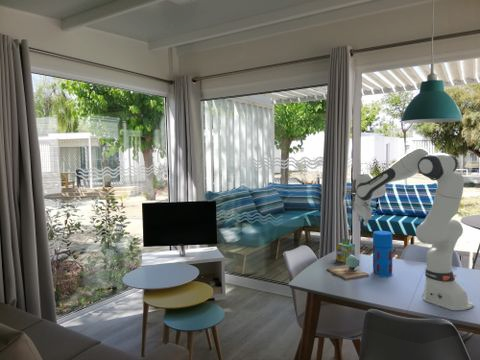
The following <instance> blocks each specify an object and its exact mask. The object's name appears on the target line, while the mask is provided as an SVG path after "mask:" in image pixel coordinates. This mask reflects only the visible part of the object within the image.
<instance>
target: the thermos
mask: <svg viewBox="0 0 480 360" xmlns="http://www.w3.org/2000/svg"><path fill="white" fill-rule="evenodd" d="M372 272H373V274H374V275H375V276H377V277H386V278H388V277H391V276H393V232H391V231H387V230H375V231H373V233H372Z"/></svg>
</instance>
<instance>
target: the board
mask: <svg viewBox="0 0 480 360" xmlns="http://www.w3.org/2000/svg"><path fill="white" fill-rule="evenodd" d="M349 267H350V266H348V265H346V264H345V265H339V266H337V265H336V266H331V267H326V271H327V272H330V273H331V274H334V275H335V276H338V277H339V278H341V279H343V280H345V281H347V280H355V279H359V278H365V277H369V276H370V274H369V273H367V272H365V271H363V270H360V269H358V268H356V269H357V271H349V270H348V269H349Z"/></svg>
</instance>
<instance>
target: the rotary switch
mask: <svg viewBox="0 0 480 360" xmlns="http://www.w3.org/2000/svg"><path fill="white" fill-rule="evenodd" d="M345 265H348V266H350V267H355V268H357V267H360V259H359V258H358V257H357V256H356V255H355V256H353V255H350V256H348V258H346V263H345ZM356 266H357V267H356Z"/></svg>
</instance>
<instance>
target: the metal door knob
mask: <svg viewBox="0 0 480 360" xmlns="http://www.w3.org/2000/svg"><path fill="white" fill-rule="evenodd" d="M357 267H358V266H356V267H349V269H348V270H349V271H357V269H358V268H357Z"/></svg>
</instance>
